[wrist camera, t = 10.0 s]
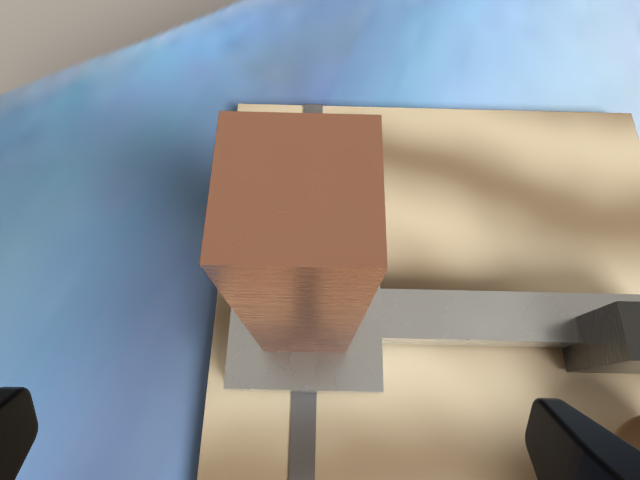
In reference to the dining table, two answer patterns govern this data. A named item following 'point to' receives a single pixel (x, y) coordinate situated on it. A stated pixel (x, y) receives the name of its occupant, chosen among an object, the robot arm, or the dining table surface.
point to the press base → (458, 274)
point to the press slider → (355, 268)
